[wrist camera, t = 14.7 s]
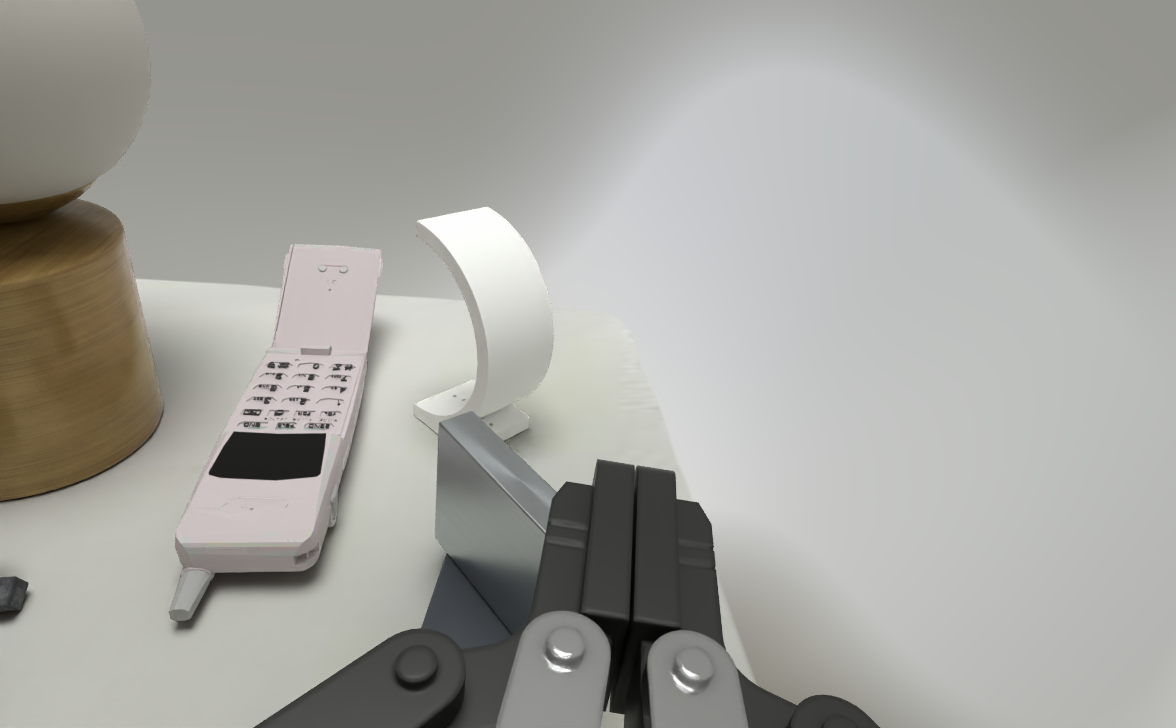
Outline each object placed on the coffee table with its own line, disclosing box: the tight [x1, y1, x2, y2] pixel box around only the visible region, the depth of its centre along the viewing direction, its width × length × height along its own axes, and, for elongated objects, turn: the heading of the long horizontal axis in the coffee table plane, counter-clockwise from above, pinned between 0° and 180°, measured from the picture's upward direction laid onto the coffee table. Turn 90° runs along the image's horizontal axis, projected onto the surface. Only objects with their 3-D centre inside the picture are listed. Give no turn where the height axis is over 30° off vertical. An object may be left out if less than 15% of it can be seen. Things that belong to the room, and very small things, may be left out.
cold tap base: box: [421, 553, 513, 649], centre depth 29 cm, size 6×9×2 cm, turn 175°
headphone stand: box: [414, 207, 554, 441], centre depth 37 cm, size 5×6×12 cm
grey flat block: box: [435, 411, 557, 634], centre depth 26 cm, size 9×2×7 cm, turn 40°
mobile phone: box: [169, 244, 383, 621], centre depth 36 cm, size 6×6×25 cm
